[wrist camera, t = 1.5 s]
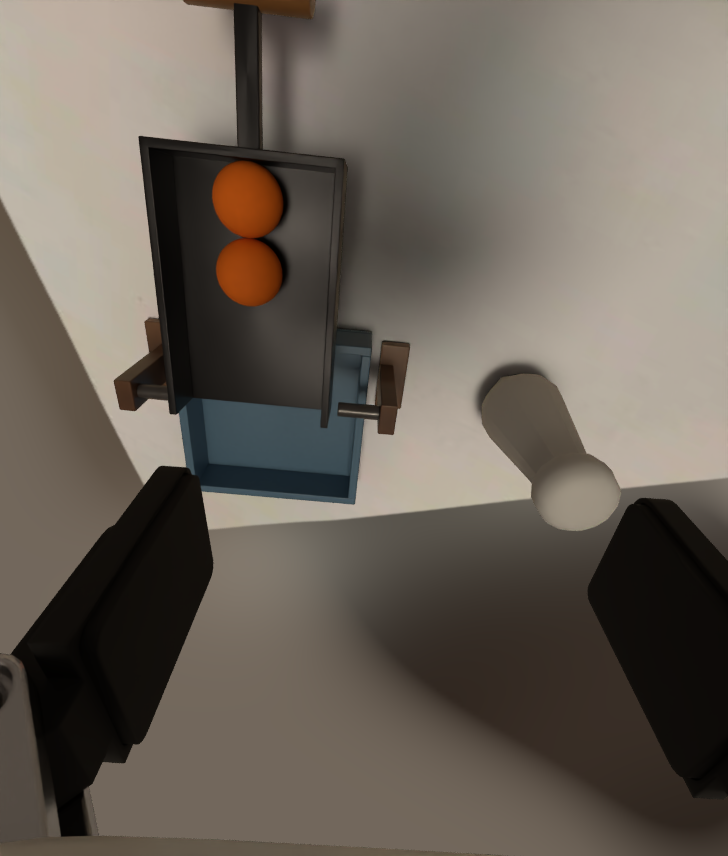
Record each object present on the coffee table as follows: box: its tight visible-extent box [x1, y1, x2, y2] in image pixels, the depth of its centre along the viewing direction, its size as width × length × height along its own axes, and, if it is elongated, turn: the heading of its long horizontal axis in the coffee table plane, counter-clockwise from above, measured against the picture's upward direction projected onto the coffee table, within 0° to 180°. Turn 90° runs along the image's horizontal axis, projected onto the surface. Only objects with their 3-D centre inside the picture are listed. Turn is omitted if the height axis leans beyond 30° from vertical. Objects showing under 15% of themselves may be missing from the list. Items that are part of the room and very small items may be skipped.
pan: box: [139, 0, 348, 428], centre depth 21 cm, size 20×9×3 cm, turn 175°
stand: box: [114, 318, 410, 435], centre depth 29 cm, size 5×19×7 cm, turn 85°
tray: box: [179, 329, 372, 504], centre depth 32 cm, size 13×13×4 cm
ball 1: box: [212, 160, 283, 238], centre depth 20 cm, size 3×3×3 cm
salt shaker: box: [482, 374, 621, 531], centre depth 28 cm, size 6×6×13 cm
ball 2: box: [216, 238, 283, 306], centre depth 21 cm, size 3×3×3 cm
